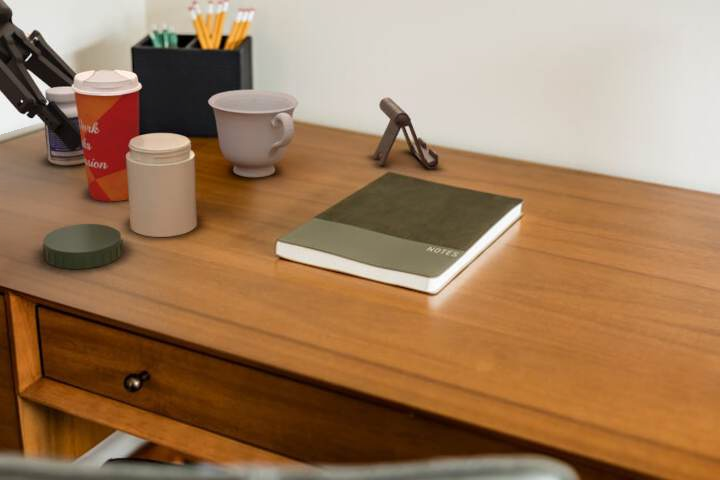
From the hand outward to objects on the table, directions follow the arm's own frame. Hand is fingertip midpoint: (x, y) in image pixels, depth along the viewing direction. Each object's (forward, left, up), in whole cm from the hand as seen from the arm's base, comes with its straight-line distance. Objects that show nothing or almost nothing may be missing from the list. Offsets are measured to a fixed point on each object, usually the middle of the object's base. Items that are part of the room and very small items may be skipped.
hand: (91, 138), depth 123 cm
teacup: (+23, -6, -4) cm, 24 cm away
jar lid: (+3, -32, -2) cm, 32 cm away
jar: (+11, -24, -4) cm, 26 cm away
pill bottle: (-3, +1, -4) cm, 5 cm away
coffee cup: (+4, -13, -4) cm, 14 cm away
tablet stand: (+44, -1, -4) cm, 44 cm away
